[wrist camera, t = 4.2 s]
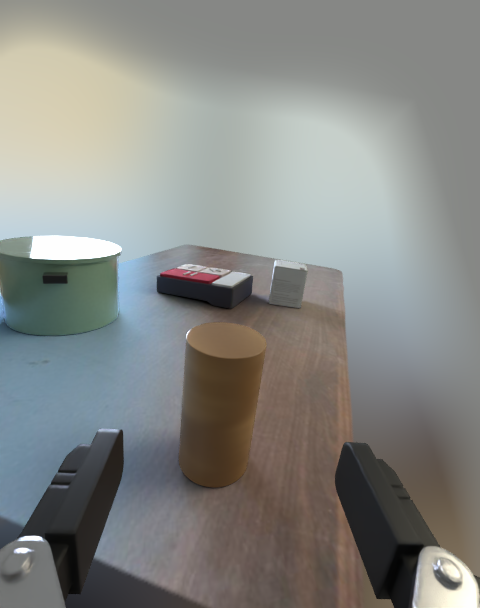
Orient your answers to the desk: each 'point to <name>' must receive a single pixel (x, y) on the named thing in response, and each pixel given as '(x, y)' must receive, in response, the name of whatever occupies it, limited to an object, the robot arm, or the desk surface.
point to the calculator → (206, 284)
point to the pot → (58, 284)
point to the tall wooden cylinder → (219, 401)
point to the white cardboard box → (288, 283)
